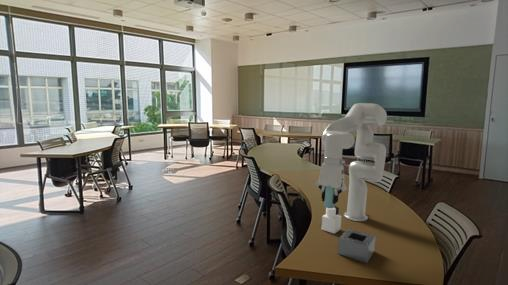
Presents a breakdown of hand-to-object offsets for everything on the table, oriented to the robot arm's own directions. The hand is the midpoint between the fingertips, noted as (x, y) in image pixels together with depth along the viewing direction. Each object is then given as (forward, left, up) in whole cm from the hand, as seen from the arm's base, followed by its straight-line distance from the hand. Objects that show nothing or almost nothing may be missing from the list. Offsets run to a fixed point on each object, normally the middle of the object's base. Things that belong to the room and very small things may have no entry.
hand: (329, 201), depth 136 cm
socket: (+1, +13, -19) cm, 24 cm away
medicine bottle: (-15, -4, -20) cm, 25 cm away
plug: (0, 0, -2) cm, 2 cm away
